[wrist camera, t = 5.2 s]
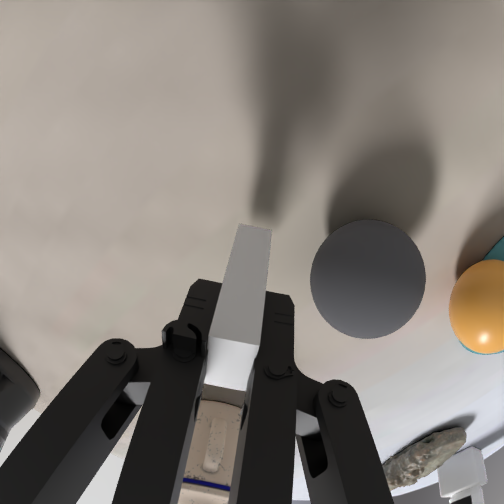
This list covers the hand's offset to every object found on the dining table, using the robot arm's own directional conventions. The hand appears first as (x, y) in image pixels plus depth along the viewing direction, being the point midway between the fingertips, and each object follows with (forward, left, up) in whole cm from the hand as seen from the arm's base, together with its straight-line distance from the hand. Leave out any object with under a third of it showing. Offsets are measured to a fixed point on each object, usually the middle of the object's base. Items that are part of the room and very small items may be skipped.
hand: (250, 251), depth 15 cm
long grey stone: (+29, -38, -3) cm, 48 cm away
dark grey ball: (+6, 0, +1) cm, 6 cm away
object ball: (+14, 0, +1) cm, 14 cm away
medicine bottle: (+42, -35, -2) cm, 55 cm away
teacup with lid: (0, -21, -2) cm, 21 cm away
